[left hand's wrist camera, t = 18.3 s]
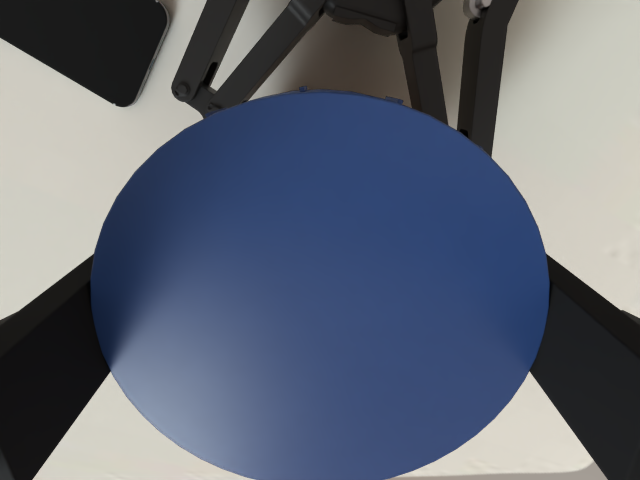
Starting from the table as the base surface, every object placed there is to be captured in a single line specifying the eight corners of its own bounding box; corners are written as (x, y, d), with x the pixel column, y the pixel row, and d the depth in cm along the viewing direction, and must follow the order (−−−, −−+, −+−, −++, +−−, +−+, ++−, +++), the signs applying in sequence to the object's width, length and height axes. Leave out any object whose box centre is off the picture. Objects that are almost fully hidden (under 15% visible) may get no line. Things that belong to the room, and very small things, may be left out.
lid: (521, 391, 14) (560, 452, 11) (209, 451, 15) (190, 517, 12) (490, 34, 10) (542, 20, 7) (62, 152, 11) (-7, 171, 8)
